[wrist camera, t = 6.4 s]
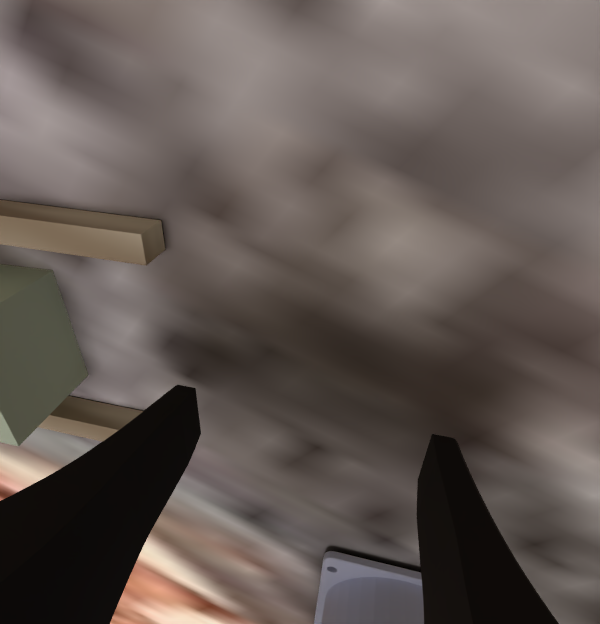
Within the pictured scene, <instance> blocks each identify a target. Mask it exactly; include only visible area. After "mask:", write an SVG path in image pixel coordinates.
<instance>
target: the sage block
mask: <svg viewBox="0 0 600 624" xmlns="http://www.w3.org/2000/svg"><path fill="white" fill-rule="evenodd" d="M87 376H88V373H87V370H86V367H85V364H84V361H83V358H82V355H81V352H80V349H79V346H78V343H77V340H76V338H75V335H74V332H73V329H72V326H71V323H70V320H69V317H68V314H67V311H66V308H65V305H64V302H63V299H62V297H61V294H60V291H59V288H58V285H57V282H56V279H55V276H54V273H53V270H45V269H36V268H28V267H20V266H12V265H3V264H0V442H1V443H6V444H11V445H15V446H19V445H20V444H21V443H22V442H23V441H24V440H25V439H26V438H27V437H28V436H29V435H30V434H31V433H32V432H33V431H34V430H35V429H36V428H37V427H38V426H39V425H40V424H41V423H42V422H43V421H44V420H45V419H46V418H47V417H48V416H49V415H50V414H51V413H52V412H53V411H54V410H55V409H56V408H57V407H58V406H59V405H60V404H61V403H62V402H63V401H64V399H65V398H66V397H67V396H68V395H69V394H70V393H71V392H72V391H73V390H74V389H75V388H76V387H77V386H78V385H79V384H80V383H81V382H82V381H83V380H84V379H85V378H86V377H87Z"/></svg>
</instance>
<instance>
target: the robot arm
mask: <svg viewBox="0 0 600 624" xmlns="http://www.w3.org/2000/svg"><path fill="white" fill-rule="evenodd" d="M200 434H201V430H200V422H199V414H198V406H197V397H196V389H195V388H192V387H186V386H181V385H176V386H175V387H174V388H172V389H171V390H170V391H168V392H167V393H166V394H165V395H163V396H162V397H161V398H160V399H158V400H157V401H156V402H155V403H153V404H152V405H151V406H150V407H148V408H147V409H146V410H144V411H143V412H142V413H141V414H139V415H138V416H137V417H135V418H134V419H133V420H131V421H130V422H129V423H127V424H126V425H125V426H124V427H122V428H121V429H120V430H118V431H117V432H115V433H114V434H113V435H111V436H110V437H108V438H107V439H106V440H104V441H103V442H101V443H100V444H98V445H97V446H96V447H94V448H93V449H91V450H90V451H88V452H87V453H85V454H84V455H82V456H81V457H79V458H78V459H76V460H74V461H73V462H71V463H70V464H68V465H66V466H65V467H63V468H61V469H60V470H58V471H56V472H55V473H53V474H51V475H49V476H48V477H46V478H44V479H42V480H40V481H38V482H36V483H34V484H33V485H31V486H29V487H27V488H25V489H23V490H21V491H19V492H17V493H16V494H14V495H12V496H10V497H8V498H6V499H4V500H1V501H0V624H110V622H111V619H112V616H113V614H114V612H115V609H116V607H117V604H118V602H119V600H120V597H121V595H122V593H123V590H124V588H125V586H126V583H127V581H128V579H129V576H130V574H131V572H132V570H133V567H134V565H135V563H136V561H137V559H138V556H139V554H140V552H141V550H142V547H143V545H144V543H145V541H146V539H147V537H148V535H149V534H150V532H151V530H152V528H153V526H154V524H155V523H156V521H157V519H158V517H159V515H160V514H161V512H162V510H163V508H164V507H165V505H166V503H167V501H168V500H169V498H170V496H171V494H172V492H173V491H174V489H175V487H176V485H177V484H178V482H179V480H180V478H181V476H182V475H183V473H184V471H185V469H186V467H187V465H188V464H189V461H190V459H191V456H192V454H193V452H194V449H195V447H196V444H197V442H198V439H199V437H200ZM417 525H418V539H419V552H420V564H421V572H417V571H413V570H409V569H405V568H401V567H397V566H393V565H388V564H384V563H380V562H376V561H372V560H368V559H364V558H360V557H356V556H352V555H347V554H343V553H339V552H335V551H328V552H326V553H325V554H324V558H323V564H322V571H321V578H320V585H319V592H318V599H317V606H316V613H315V619H314V624H559V623H558V622H557V621H556V619H555V618H554V617H553V615H552V614H551V612H550V611H549V609H548V608H547V606H546V605H545V604H544V602H543V601H542V599H541V598H540V596H539V595H538V593H537V592H536V590H535V589H534V587H533V586H532V584H531V583H530V581H529V580H528V578H527V577H526V575H525V574H524V572H523V570H522V569H521V567H520V566H519V564H518V562H517V561H516V559H515V557H514V556H513V554H512V552H511V551H510V549H509V547H508V545H507V544H506V542H505V540H504V538H503V537H502V535H501V533H500V532H499V530H498V528H497V526H496V524H495V522H494V520H493V519H492V517H491V515H490V513H489V511H488V509H487V507H486V505H485V503H484V501H483V499H482V497H481V495H480V493H479V491H478V489H477V487H476V485H475V483H474V480H473V478H472V476H471V474H470V472H469V469H468V467H467V465H466V462H465V460H464V458H463V455H462V453H461V450H460V448H459V445H458V443H457V441H456V440H455V438H450V437H445V436H440V435H435V434H432V436H431V440H430V443H429V446H428V449H427V452H426V455H425V459H424V462H423V465H422V468H421V471H420V474H419V478H418V491H417Z"/></svg>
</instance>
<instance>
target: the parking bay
mask: <svg viewBox="0 0 600 624" xmlns="http://www.w3.org/2000/svg"><path fill="white" fill-rule="evenodd" d="M0 244H4V245H10V246H17V247H24V248H31V249H38V250H44V251H51V252H58V253H65V254H72V255H79V256H85V257H92V258H99V259H106V260H113V261H119V262H126V263H133V264H140V265H147V264H149V263H150V262H151V261H152V260H153V259H155V258H156V257H157V256H158V255H160V254H161V253H162V252H163V251H164V250H165V244H164V237H163V230H162V223H161V220H154V219H147V218H139V217H131V216H123V215H115V214H107V213H100V212H92V211H84V210H76V209H68V208H60V207H53V206H45V205H37V204H29V203H21V202H13V201H6V200H0ZM142 412H143V411H139V410H135V409H130V408H125V407H120V406H115V405H110V404H105V403H101V402H96V401H91V400H86V399H81V398H76V397H71V396H67V397H66V398H65V399H64V401H63V402H62V403H61V404H60V405H59V406H58V407H57V408H56V409H55V410H54V411H53V412H52V413H51V414H50V415H49V416H48V417H47V418H46V419H45V420H44V421H43V422H42V423H41V424H40V425H39V426H38V427H40V428H44V429H49V430H53V431H58V432H62V433H67V434H71V435H76V436H80V437H85V438H89V439H94V440H98V441H104V440H106V439H107V438H108V437H110V436H111V435H113V434H114V433H115V432H117V431H118V430H120V429H121V428H122V427H124V426H125V425H126V424H127V423H129V422H130V421H131V420H133V419H134V418H135V417H137V416H138V415H139V414H141V413H142Z"/></svg>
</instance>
